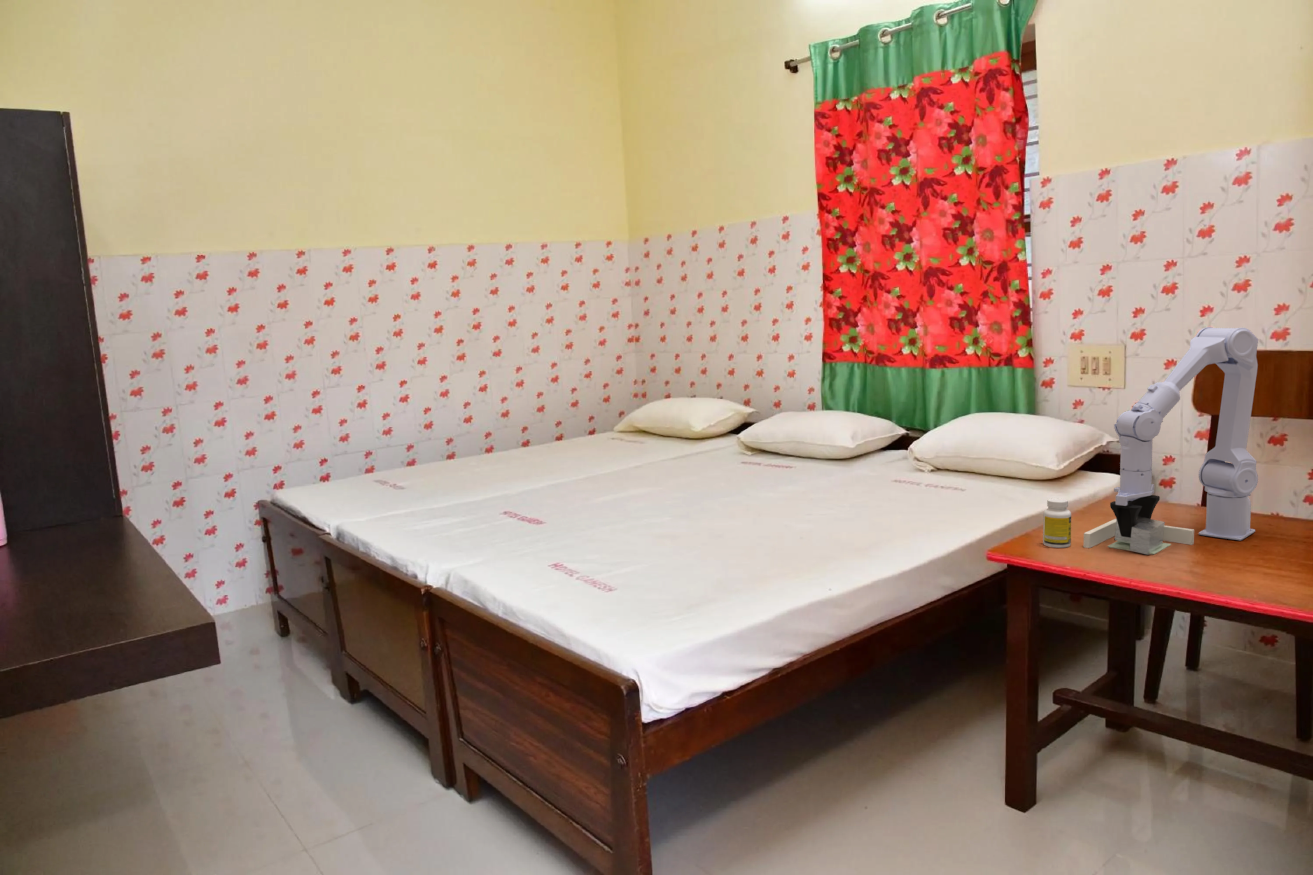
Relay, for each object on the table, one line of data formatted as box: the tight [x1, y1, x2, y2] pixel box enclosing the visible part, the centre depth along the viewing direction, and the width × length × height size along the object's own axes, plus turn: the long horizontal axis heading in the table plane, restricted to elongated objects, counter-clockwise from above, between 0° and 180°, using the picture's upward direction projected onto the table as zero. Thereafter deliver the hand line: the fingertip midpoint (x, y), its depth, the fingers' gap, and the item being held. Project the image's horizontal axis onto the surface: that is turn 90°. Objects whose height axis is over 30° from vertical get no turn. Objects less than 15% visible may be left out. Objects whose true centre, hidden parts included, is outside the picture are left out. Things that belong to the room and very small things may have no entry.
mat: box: [1107, 541, 1172, 555], centre depth 182 cm, size 9×9×1 cm
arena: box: [1083, 518, 1195, 549], centre depth 182 cm, size 16×16×3 cm
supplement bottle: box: [1042, 497, 1072, 549], centre depth 186 cm, size 5×5×10 cm
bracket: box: [1114, 517, 1166, 555], centre depth 180 cm, size 8×8×5 cm
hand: (1134, 532), depth 183 cm, fingers open, 7 cm apart
